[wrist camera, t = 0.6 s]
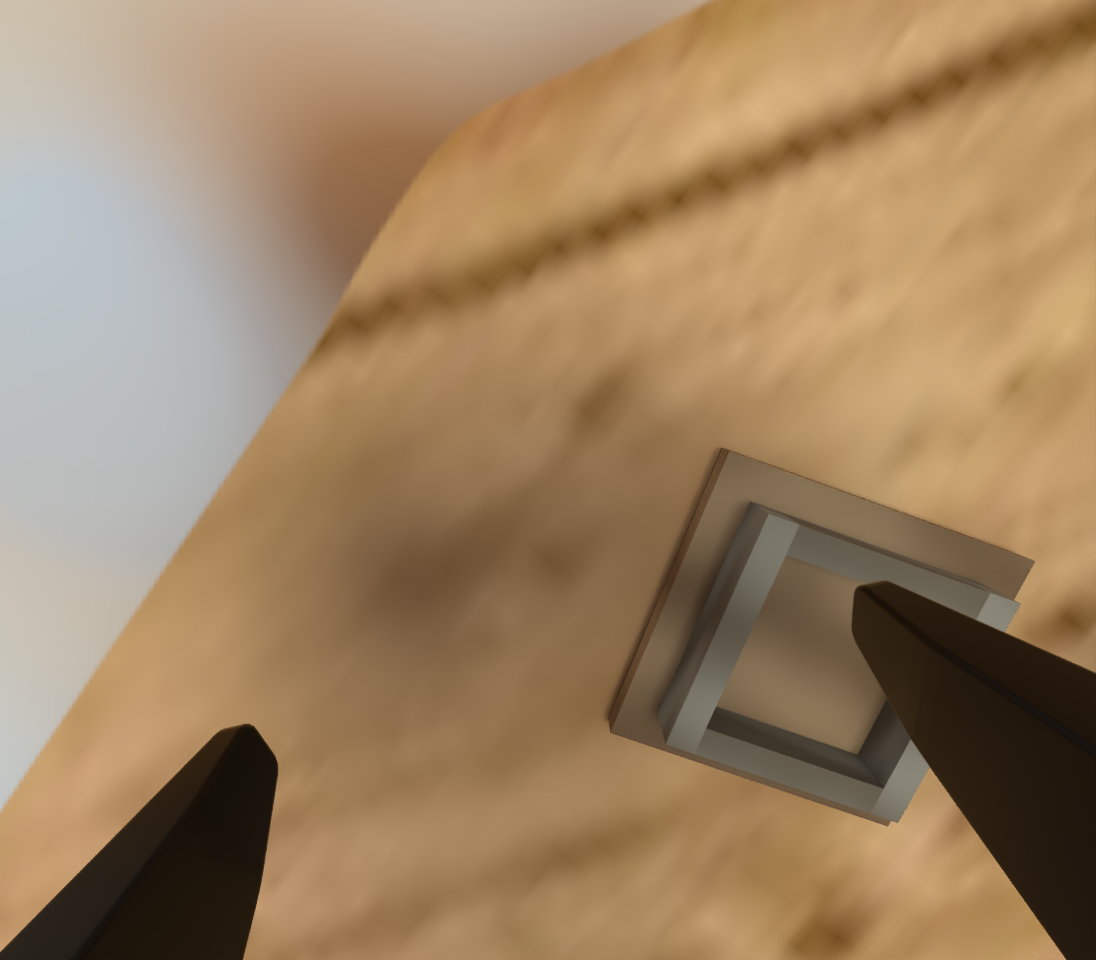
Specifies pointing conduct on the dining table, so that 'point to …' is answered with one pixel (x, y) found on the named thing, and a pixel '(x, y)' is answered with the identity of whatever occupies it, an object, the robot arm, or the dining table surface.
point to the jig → (796, 636)
